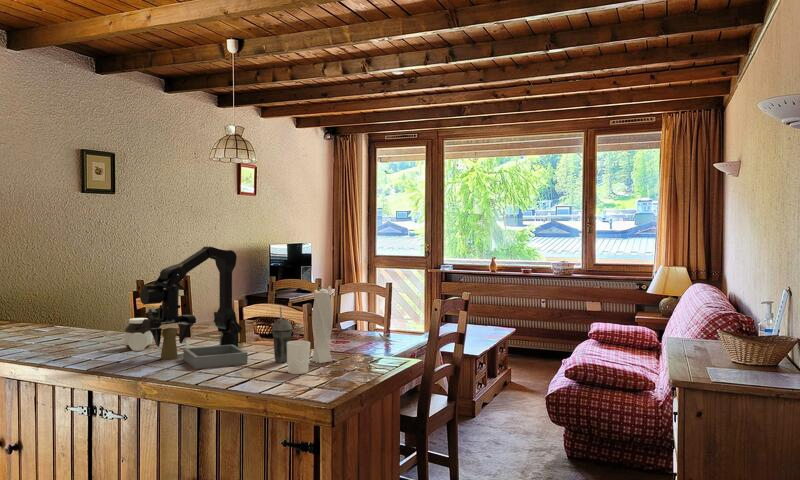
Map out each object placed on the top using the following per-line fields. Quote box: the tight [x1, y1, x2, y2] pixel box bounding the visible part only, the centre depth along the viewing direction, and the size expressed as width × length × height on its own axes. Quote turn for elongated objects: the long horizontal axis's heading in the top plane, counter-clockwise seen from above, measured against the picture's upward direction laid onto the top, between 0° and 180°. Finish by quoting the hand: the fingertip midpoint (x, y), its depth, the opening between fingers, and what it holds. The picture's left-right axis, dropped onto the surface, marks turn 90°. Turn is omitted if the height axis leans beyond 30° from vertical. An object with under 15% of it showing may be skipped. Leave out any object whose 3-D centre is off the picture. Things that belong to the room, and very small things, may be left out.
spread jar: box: [123, 317, 154, 352], centre depth 229 cm, size 12×11×12 cm
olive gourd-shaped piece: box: [160, 327, 179, 361], centre depth 213 cm, size 6×6×11 cm
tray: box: [183, 345, 248, 370], centre depth 208 cm, size 18×18×4 cm
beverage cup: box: [271, 306, 293, 364], centre depth 210 cm, size 7×7×20 cm
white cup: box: [286, 339, 311, 375], centre depth 194 cm, size 8×8×10 cm
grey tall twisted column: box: [309, 285, 334, 365], centre depth 211 cm, size 8×8×28 cm
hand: (169, 344), depth 213 cm, fingers open, 9 cm apart
